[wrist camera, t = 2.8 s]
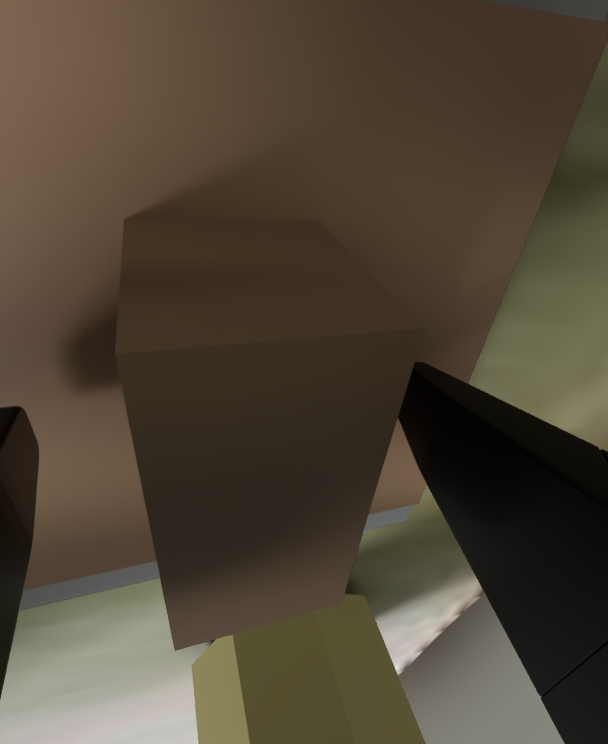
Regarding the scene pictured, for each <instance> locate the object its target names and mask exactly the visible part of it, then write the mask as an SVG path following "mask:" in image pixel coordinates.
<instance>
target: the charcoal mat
mask: <svg viewBox="0 0 608 744" xmlns="http://www.w3.org/2000/svg"><path fill="white" fill-rule="evenodd" d="M484 1H490V2H495V3H501V4H506V5H512V6H518V7H523V8H529V9H534V10H540V11H546V12H551V13H557V14H562V15H568V16H574V17H579V18H585V19H590V20H596V21H602V22H604V20H605V18H606V15H607V13H608V0H484ZM412 506H413V505H410V506H405V507H401V508H396V509H392V510H387V511H383V512H378V513H374V514H369V515H368V518H367V521H366V524H365V528H364V531H366V530H370V529H374V528H379V527H383V526H387V525H392V524H396V523H400V522H405V521H407V519H408V516H409V514H410V511H411V508H412ZM158 578H160V574H159V570H158V565H157V561H155V562H150V563H146V564H141V565H137V566H132V567H128V568H123V569H118V570H114V571H109V572H105V573H100V574H96V575H91V576H87V577H82V578H77V579H73V580H68V581H64V582H59V583H55V584H50V585H46V586H41V587H36V588H32V589H27V590H23V593H22V598H21V603H20V608H19V610H23V609H28V608H32V607H36V606H41V605H45V604H49V603H54V602H58V601H62V600H67V599H71V598H75V597H80V596H84V595H88V594H93V593H97V592H101V591H106V590H110V589H114V588H119V587H123V586H127V585H132V584H136V583H140V582H145V581H149V580H153V579H158Z"/></svg>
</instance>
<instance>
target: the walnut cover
mask: <svg viewBox="0 0 608 744" xmlns="http://www.w3.org/2000/svg"><path fill="white" fill-rule="evenodd" d="M607 40H608V23H607V22H602V21H596V20H590V19H585V18H579V17H574V16H568V15H562V14H557V13H551V12H546V11H540V10H534V9H529V8H523V7H518V6H512V5H506V4H501V3H495V2H490V1H484V0H0V407H9V406H20V407H22V408H23V409H24V410H25V411H26V413H27V416H28V418H29V421H30V423H31V426H32V429H33V431H34V434H35V436H36V439H37V442H38V446H39V468H38V482H37V495H36V508H35V522H34V533H33V543H32V549H31V554H30V560H29V565H28V569H27V574H26V579H25V584H24V589H23V590H27V589H32V588H36V587H41V586H46V585H50V584H55V583H59V582H64V581H68V580H73V579H77V578H82V577H87V576H91V575H96V574H100V573H105V572H109V571H114V570H118V569H123V568H128V567H132V566H137V565H141V564H146V563H150V562H155V561H157V565H158V570H159V574H160V579H161V584H162V589H163V594H164V599H165V604H166V609H167V614H168V619H169V624H170V629H171V634H172V639H173V644H174V649H175V651H176V650H179V649H183V648H186V647H190V646H193V645H197V644H201V643H204V642H208V641H211V640H215V639H218V638H222V637H226V636H229V635H233V634H236V633H240V632H243V631H247V630H250V629H254V628H258V627H261V626H265V625H268V624H272V623H275V622H279V621H283V620H286V619H290V618H293V617H297V616H300V615H304V614H308V613H311V612H315V611H318V610H322V609H325V608H329V607H333V606H336V605H340V604H342V600H343V597H344V594H345V590H346V587H347V584H348V580H349V577H350V574H351V571H352V567H353V564H354V561H355V557H356V554H357V551H358V547H359V544H360V541H361V538H362V534H363V531H364V528H365V524H366V521H367V518H368V515H369V514H374V513H378V512H383V511H387V510H392V509H396V508H401V507H405V506H410V505H415V504H419V502H420V499H421V497H422V494H423V492H424V489H425V487H426V482H425V480H424V478H423V476H422V474H421V472H420V470H419V468H418V466H417V463H416V461H415V459H414V456H413V454H412V451H411V449H410V446H409V444H408V442H407V439H406V437H405V434H404V432H403V429H402V427H401V424H400V422H399V419H398V415H399V412H400V409H401V405H402V402H403V399H404V395H405V392H406V389H407V386H408V382H409V379H410V376H411V372H412V369H413V366H414V362H424V363H426V364H428V365H430V366H432V367H434V368H436V369H439V370H441V371H443V372H445V373H447V374H449V375H451V376H453V377H455V378H457V379H459V380H461V381H463V382H465V383H467V384H468V381H469V379H470V376H471V374H472V372H473V369H474V367H475V364H476V362H477V359H478V357H479V354H480V352H481V349H482V347H483V345H484V342H485V340H486V337H487V335H488V332H489V330H490V327H491V325H492V322H493V320H494V318H495V315H496V313H497V310H498V308H499V305H500V303H501V300H502V298H503V295H504V293H505V291H506V288H507V286H508V283H509V281H510V278H511V276H512V273H513V271H514V268H515V266H516V264H517V261H518V259H519V256H520V254H521V251H522V249H523V246H524V244H525V241H526V239H527V237H528V234H529V232H530V229H531V227H532V224H533V222H534V219H535V217H536V214H537V212H538V209H539V207H540V205H541V202H542V200H543V197H544V195H545V192H546V190H547V187H548V185H549V182H550V180H551V178H552V175H553V173H554V170H555V168H556V165H557V163H558V160H559V158H560V155H561V153H562V151H563V148H564V146H565V143H566V141H567V138H568V136H569V133H570V131H571V128H572V126H573V124H574V121H575V119H576V116H577V114H578V111H579V109H580V106H581V104H582V101H583V99H584V97H585V94H586V92H587V89H588V87H589V84H590V82H591V79H592V77H593V74H594V72H595V70H596V67H597V65H598V62H599V60H600V57H601V55H602V52H603V50H604V47H605V45H606V43H607Z"/></svg>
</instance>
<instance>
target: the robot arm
mask: <svg viewBox="0 0 608 744" xmlns="http://www.w3.org/2000/svg"><path fill="white" fill-rule="evenodd" d="M398 419H399V422H400V424H401V427H402V429H403V432H404V434H405V437H406V439H407V442H408V444H409V446H410V449H411V451H412V454H413V456H414V459H415V461H416V463H417V466H418V468H419V470H420V472H421V474H422V476H423V478H424V480H425V482H426V484H427V486H428V487H429V489H430V491H431V493H432V495H433V497H434V499H435V501H436V502H437V504H438V506H439V508H440V510H441V512H442V514H443V516H444V517H445V519H446V521H447V523H448V525H449V527H450V529H451V531H452V532H453V534H454V536H455V538H456V540H457V542H458V544H459V546H460V547H461V549H462V551H463V553H464V555H465V557H466V559H467V561H468V562H469V564H470V566H471V568H472V570H473V572H474V574H475V576H476V577H477V579H478V581H479V583H480V585H481V587H482V589H483V591H484V593H485V594H486V596H487V598H488V600H489V602H490V604H491V605H492V608H493V609H494V611H495V613H496V615H497V617H498V619H499V621H500V623H501V624H502V626H503V628H504V630H505V632H506V634H507V636H508V638H509V639H510V641H511V643H512V645H513V647H514V649H515V651H516V653H517V654H518V656H519V658H520V660H521V662H522V664H523V666H524V668H525V669H526V671H527V673H528V675H529V677H530V679H531V681H532V683H533V684H534V686H535V688H536V690H537V692H538V694H539V695H540V696H541V700H542V702H543V704H544V705H545V708H546V709H547V711H548V713H549V715H550V717H551V719H552V721H553V723H554V724H555V726H556V728H557V730H558V732H559V734H560V735H561V738H562V739H563V741H564V743H565V744H608V452H607V451H605V450H603V449H601V450H599V448H598V447H597V446H595V445H593V444H591V443H589V442H586V441H584V440H582V439H580V438H578V437H576V436H574V435H572V434H570V433H568V432H566V431H564V430H562V429H560V428H558V427H556V426H554V425H551V424H549V423H547V422H545V421H543V420H541V419H539V418H537V417H535V416H533V415H531V414H529V413H527V412H525V411H523V410H521V409H519V408H517V407H514V406H512V405H510V404H508V403H506V402H504V401H502V400H500V399H498V398H496V397H494V396H492V395H490V394H488V393H486V392H484V391H482V390H480V389H478V388H475V387H473V386H471V385H469V384H467V383H465V382H463V381H461V380H459V379H457V378H455V377H453V376H451V375H449V374H447V373H445V372H443V371H441V370H439V369H436V368H434V367H432V366H430V365H428V364H426V363H424V362H414V366H413V369H412V372H411V376H410V379H409V382H408V386H407V389H406V392H405V395H404V399H403V402H402V405H401V409H400V412H399V415H398ZM38 468H39V446H38V442H37V439H36V436H35V434H34V431H33V429H32V426H31V423H30V421H29V418H28V416H27V413H26V411H25V410H24V409H23V408H22V407H20V406H9V407H0V698H1V694H2V689H3V684H4V679H5V674H6V670H7V665H8V660H9V655H10V651H11V646H12V641H13V636H14V632H15V627H16V622H17V617H18V612H19V608H20V603H21V598H22V593H23V589H24V584H25V579H26V574H27V569H28V565H29V560H30V554H31V549H32V543H33V533H34V522H35V508H36V495H37V482H38Z"/></svg>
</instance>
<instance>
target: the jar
mask: <svg viewBox="0 0 608 744" xmlns="http://www.w3.org/2000/svg"><path fill="white" fill-rule="evenodd" d="M192 673H193V685H194V696H195V707H196V719H197V730H198V741H199V744H426V743H425V741H424V738H423V736H422V734H421V731H420V729H419V726H418V724H417V721H416V719H415V717H414V714H413V712H412V709H411V707H410V704H409V702H408V699H407V697H406V694H405V692H404V689H403V687H402V685H401V682H400V680H399V678H398V675H397V672H396V670H395V667H394V665H393V663H392V660H391V658H390V655H389V653H388V650H387V648H386V645H385V643H384V640H383V638H382V636H381V633H380V631H379V628H378V626H377V623H376V621H375V618H374V616H373V613H372V611H371V609H370V606H369V604H368V601H367V599H366V596H364V595H357V594H350V593H345V594H344V597H343V600H342V604H340V605H336V606H333V607H329V608H325V609H322V610H318V611H315V612H311V613H308V614H304V615H300V616H297V617H293V618H290V619H286V620H283V621H279V622H275V623H272V624H268V625H265V626H261V627H258V628H254V629H250V630H247V631H243V632H240V633H236V634H233V635H229V636H226V637H222V638H218V639H216V640H215V641H214V642H213V643H212V644H211V645H210V646H209V647H208V648H207V649H206V650H205V651H204V653H203V654H202V655H201V656H200V657H199V658H198V659H197V660H196V661H195V662H194V663H193V664H192Z"/></svg>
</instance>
